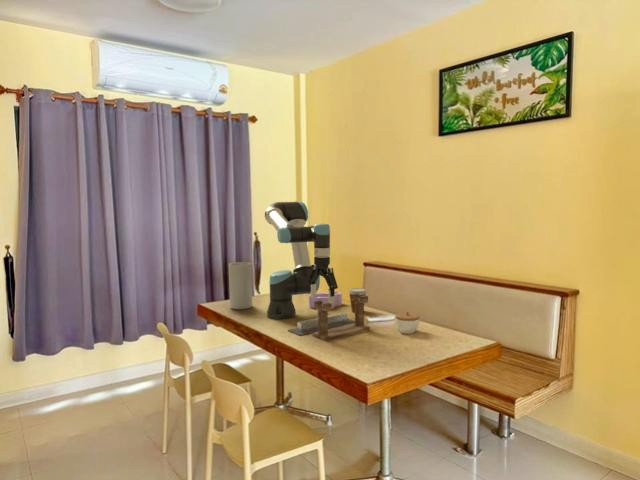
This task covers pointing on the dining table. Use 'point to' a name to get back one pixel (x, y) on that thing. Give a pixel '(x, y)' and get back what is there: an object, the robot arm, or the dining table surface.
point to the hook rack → (345, 329)
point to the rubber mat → (317, 328)
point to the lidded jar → (407, 322)
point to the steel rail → (313, 323)
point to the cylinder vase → (240, 285)
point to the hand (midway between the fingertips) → (322, 300)
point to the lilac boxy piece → (326, 299)
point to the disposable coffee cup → (357, 291)
